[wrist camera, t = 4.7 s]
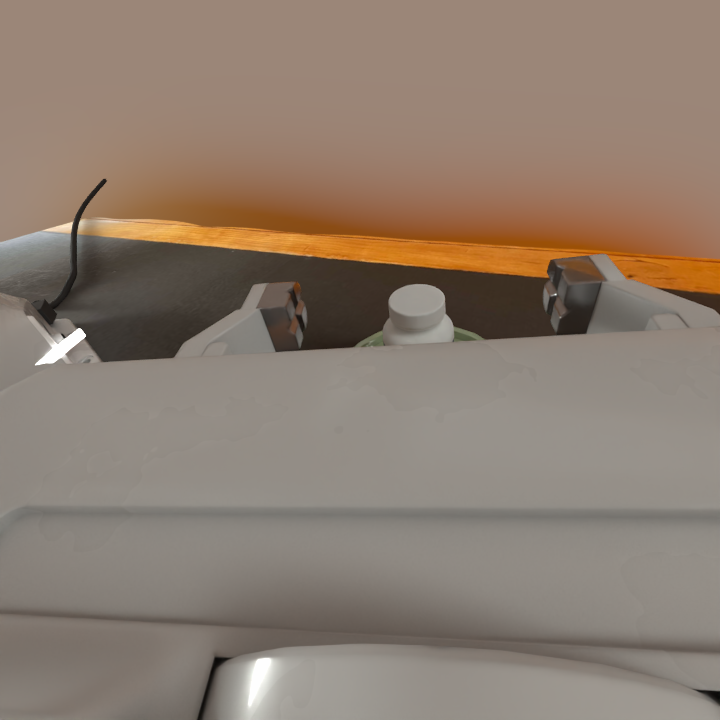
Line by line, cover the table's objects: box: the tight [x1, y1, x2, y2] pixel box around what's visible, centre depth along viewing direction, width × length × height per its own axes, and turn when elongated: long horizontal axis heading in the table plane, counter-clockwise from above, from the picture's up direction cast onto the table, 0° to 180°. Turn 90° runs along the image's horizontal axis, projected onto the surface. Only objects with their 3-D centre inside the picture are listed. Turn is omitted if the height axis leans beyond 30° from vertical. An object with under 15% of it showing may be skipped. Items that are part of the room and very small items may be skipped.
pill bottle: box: [383, 284, 454, 346], centre depth 31 cm, size 5×5×10 cm
